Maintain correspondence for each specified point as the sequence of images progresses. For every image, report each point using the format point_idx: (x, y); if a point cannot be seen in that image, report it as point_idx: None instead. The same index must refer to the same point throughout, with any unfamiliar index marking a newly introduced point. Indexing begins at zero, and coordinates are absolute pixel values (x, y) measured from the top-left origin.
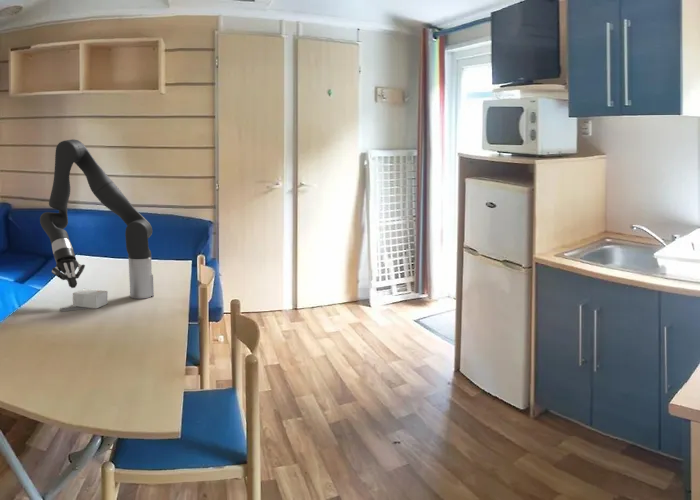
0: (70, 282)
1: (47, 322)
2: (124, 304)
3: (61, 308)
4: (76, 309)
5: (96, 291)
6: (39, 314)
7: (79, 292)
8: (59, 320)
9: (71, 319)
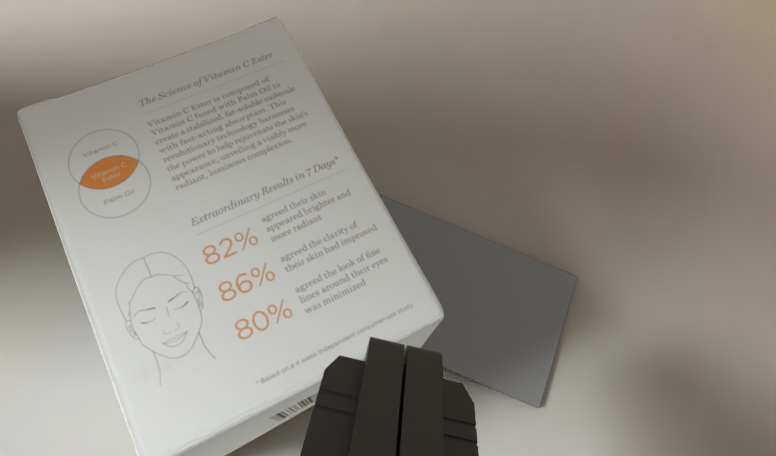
0: (448, 427)
1: (759, 91)
2: (9, 58)
3: (537, 379)
4: (440, 227)
5: (141, 175)
6: (766, 357)
7: (359, 266)
8: (670, 69)
9: (589, 26)
